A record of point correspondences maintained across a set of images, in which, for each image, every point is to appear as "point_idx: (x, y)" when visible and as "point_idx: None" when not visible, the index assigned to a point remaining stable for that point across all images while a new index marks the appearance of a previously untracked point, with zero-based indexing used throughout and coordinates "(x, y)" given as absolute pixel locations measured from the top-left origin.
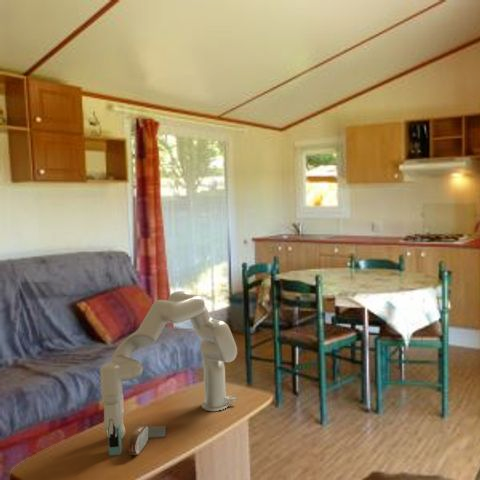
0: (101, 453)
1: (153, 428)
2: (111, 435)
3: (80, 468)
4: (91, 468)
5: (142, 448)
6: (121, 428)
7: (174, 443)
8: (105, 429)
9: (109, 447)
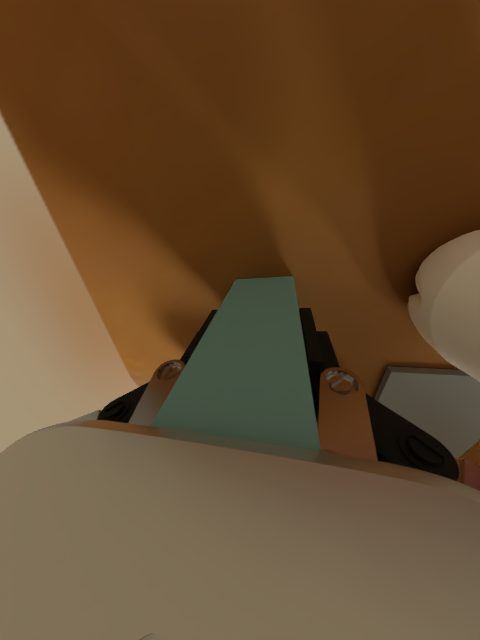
0: (261, 226)
1: (464, 430)
2: (139, 400)
3: (78, 138)
4: (106, 218)
5: None
6: (467, 373)
7: None
8: (8, 452)
9: (226, 301)
